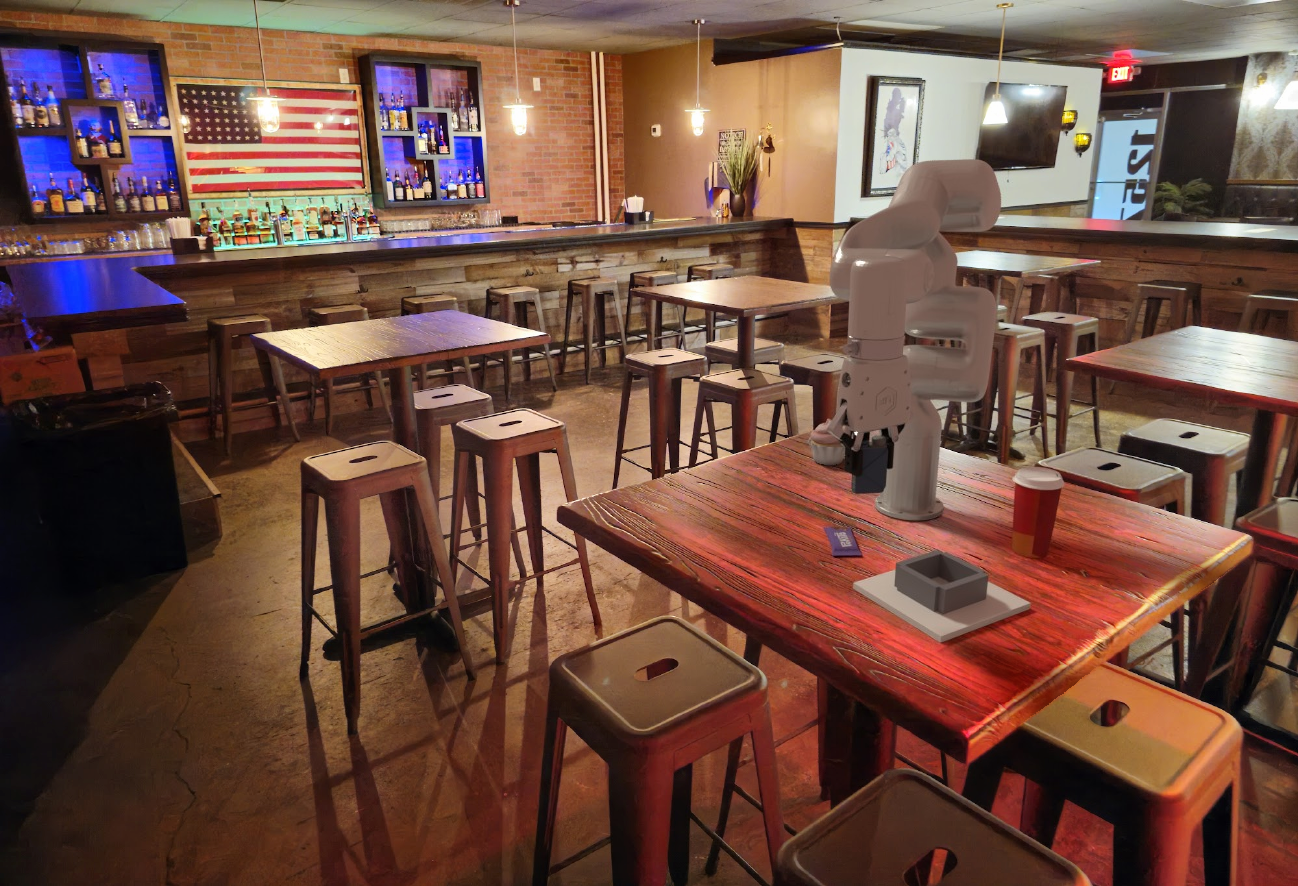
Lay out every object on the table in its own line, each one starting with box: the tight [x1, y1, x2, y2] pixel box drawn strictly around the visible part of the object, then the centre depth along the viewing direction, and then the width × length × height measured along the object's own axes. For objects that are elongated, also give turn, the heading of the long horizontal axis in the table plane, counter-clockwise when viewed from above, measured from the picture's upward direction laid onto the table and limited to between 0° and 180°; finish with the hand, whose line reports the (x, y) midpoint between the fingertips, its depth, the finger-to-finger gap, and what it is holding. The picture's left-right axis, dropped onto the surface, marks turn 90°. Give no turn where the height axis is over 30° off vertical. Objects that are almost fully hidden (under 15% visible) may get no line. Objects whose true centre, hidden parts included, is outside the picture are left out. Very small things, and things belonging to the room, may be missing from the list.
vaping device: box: [850, 432, 888, 495], centre depth 119 cm, size 3×5×12 cm, turn 93°
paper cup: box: [1011, 466, 1065, 559], centre depth 137 cm, size 8×8×14 cm
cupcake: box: [806, 418, 845, 466], centre depth 183 cm, size 9×9×10 cm
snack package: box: [822, 526, 863, 557], centre depth 145 cm, size 12×2×5 cm
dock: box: [852, 549, 1031, 644], centre depth 125 cm, size 18×18×5 cm
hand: (868, 468), depth 120 cm, fingers closed on vaping device, 4 cm apart
